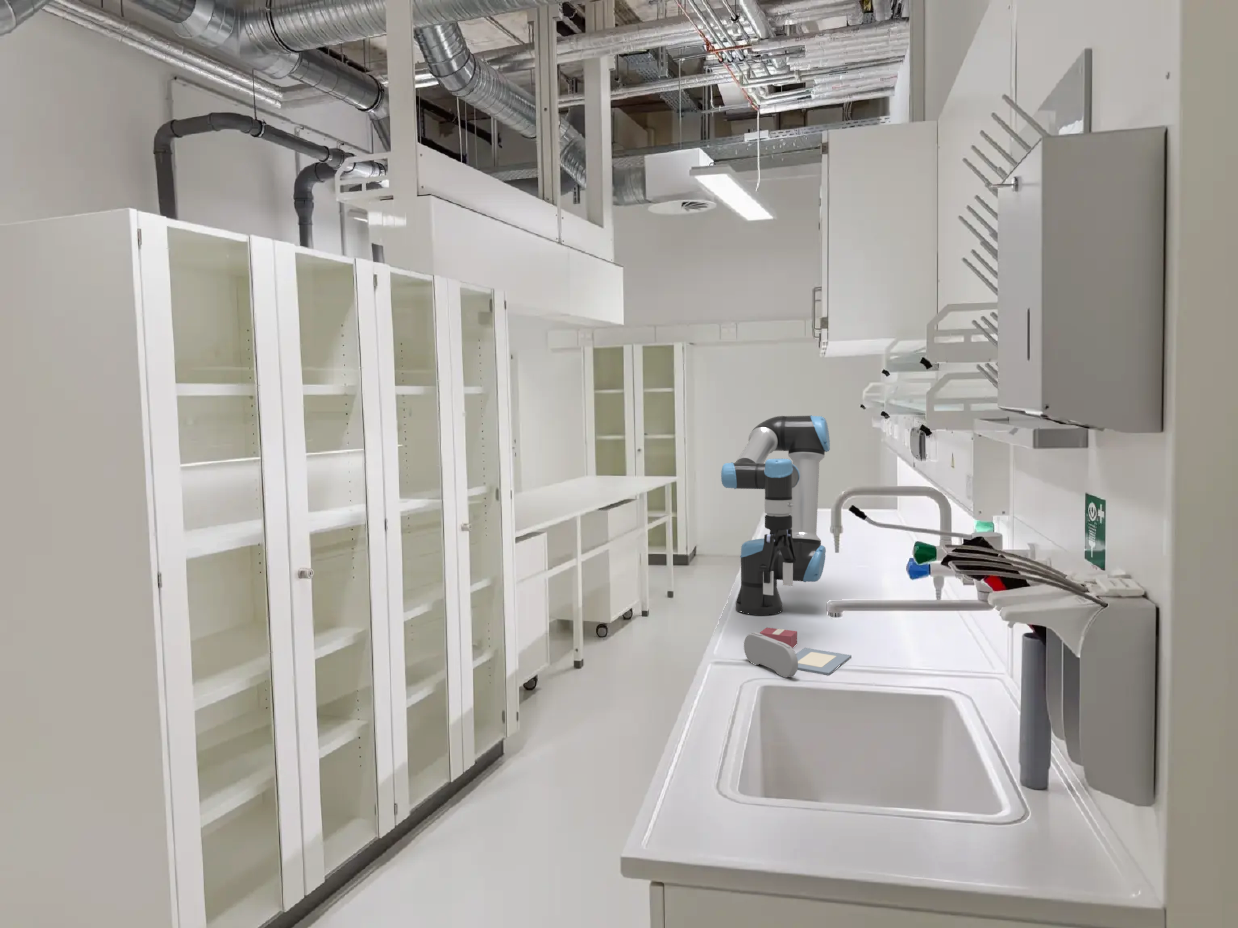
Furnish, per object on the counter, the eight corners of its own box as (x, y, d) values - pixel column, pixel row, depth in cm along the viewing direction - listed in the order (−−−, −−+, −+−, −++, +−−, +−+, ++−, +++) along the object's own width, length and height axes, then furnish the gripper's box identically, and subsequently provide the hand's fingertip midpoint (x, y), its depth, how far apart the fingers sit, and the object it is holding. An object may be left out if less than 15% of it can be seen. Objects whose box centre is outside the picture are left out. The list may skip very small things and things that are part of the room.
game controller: (799, 680, 204) (799, 647, 203) (791, 681, 203) (791, 648, 202) (750, 659, 221) (750, 628, 221) (743, 660, 220) (743, 629, 219)
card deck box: (766, 641, 238) (766, 627, 238) (797, 645, 234) (797, 630, 233) (759, 646, 233) (759, 632, 232) (790, 650, 228) (790, 636, 228)
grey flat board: (804, 649, 228) (804, 647, 228) (851, 657, 221) (851, 654, 221) (780, 666, 214) (780, 664, 214) (828, 675, 207) (828, 672, 207)
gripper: (772, 520, 218) (772, 600, 219) (808, 510, 238) (807, 583, 240) (746, 518, 222) (746, 596, 223) (783, 508, 243) (783, 580, 244)
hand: (778, 590), depth 232 cm, fingers open, 13 cm apart
